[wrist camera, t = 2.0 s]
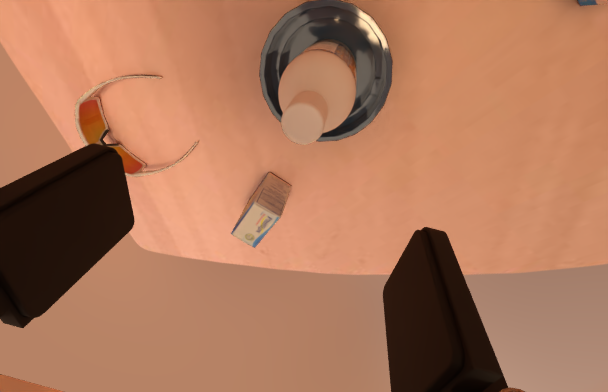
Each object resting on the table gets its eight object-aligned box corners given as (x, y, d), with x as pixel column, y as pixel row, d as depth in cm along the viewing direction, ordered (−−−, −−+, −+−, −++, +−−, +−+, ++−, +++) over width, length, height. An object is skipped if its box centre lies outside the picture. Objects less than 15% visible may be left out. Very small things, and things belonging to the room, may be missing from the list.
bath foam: (346, 104, 37) (338, 182, 20) (295, 91, 37) (246, 157, 21) (364, 46, 33) (371, 85, 17) (307, 31, 33) (257, 54, 17)
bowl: (267, 110, 39) (254, 125, 35) (281, -13, 31) (267, -17, 26) (365, 135, 39) (366, 153, 34) (406, 17, 31) (415, 18, 26)
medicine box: (269, 170, 45) (253, 201, 38) (292, 185, 46) (280, 218, 39) (247, 202, 49) (229, 235, 42) (269, 215, 50) (255, 249, 43)
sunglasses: (77, 96, 43) (50, 104, 38) (160, 59, 40) (142, 63, 36) (135, 175, 49) (118, 189, 45) (210, 148, 47) (200, 160, 42)
